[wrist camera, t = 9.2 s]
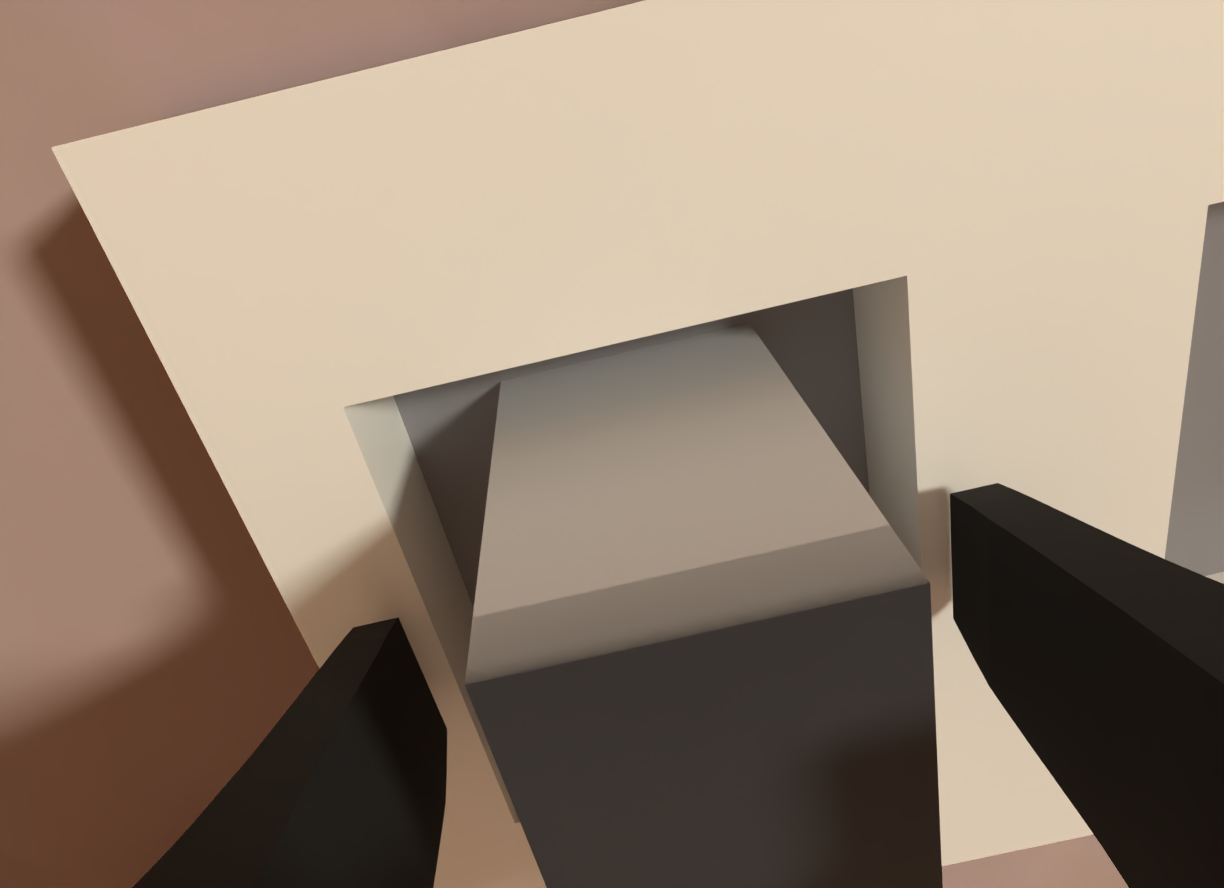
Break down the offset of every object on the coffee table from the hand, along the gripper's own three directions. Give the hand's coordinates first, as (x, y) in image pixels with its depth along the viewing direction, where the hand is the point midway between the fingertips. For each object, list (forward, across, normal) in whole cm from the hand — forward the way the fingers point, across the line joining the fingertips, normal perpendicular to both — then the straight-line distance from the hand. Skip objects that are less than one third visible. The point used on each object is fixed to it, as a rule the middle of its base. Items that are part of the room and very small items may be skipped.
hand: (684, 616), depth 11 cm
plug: (+2, 0, 0) cm, 3 cm away
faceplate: (+3, -5, 0) cm, 6 cm away
